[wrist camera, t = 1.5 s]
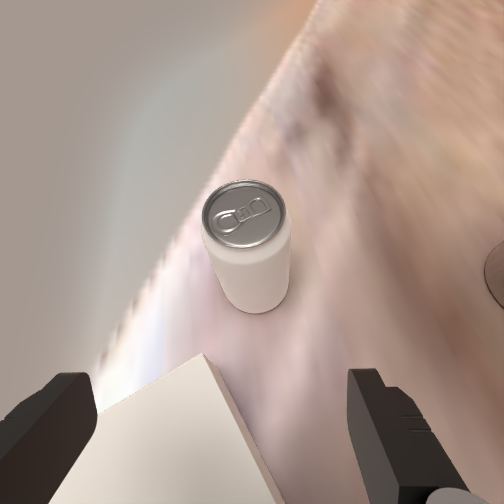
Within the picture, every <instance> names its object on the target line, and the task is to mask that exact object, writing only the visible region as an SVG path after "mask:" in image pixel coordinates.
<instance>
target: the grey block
mask: <svg viewBox="0 0 504 504" xmlns="http://www.w3.org/2000/svg"><path fill="white" fill-rule="evenodd" d="M48 504H285V502H284V500H283V498H282V496H281V494H280V492H279V490H278V488H277V486H276V484H275V482H274V480H273V478H272V476H271V474H270V472H269V470H268V468H267V466H266V464H265V462H264V460H263V458H262V456H261V454H260V452H259V450H258V448H257V446H256V444H255V442H254V440H253V438H252V436H251V434H250V432H249V430H248V428H247V426H246V424H245V422H244V420H243V418H242V416H241V414H240V412H239V410H238V408H237V406H236V404H235V402H234V400H233V398H232V396H231V394H230V392H229V390H228V388H227V386H226V384H225V382H224V380H223V378H222V376H221V374H220V373H219V371H218V369H217V367H216V366H215V365H214V364H213V363H212V362H211V361H210V360H209V359H208V358H207V357H206V356H205V355H204V354H203V353H200V354H199V355H197V356H195V357H194V358H192V359H190V360H189V361H187V362H185V363H184V364H182V365H180V366H179V367H177V368H175V369H174V370H172V371H170V372H169V373H167V374H165V375H164V376H162V377H160V378H159V379H157V380H155V381H154V382H152V383H150V384H149V385H147V386H145V387H144V388H142V389H140V390H139V391H137V392H135V393H134V394H132V395H130V396H129V397H127V398H125V399H124V400H122V401H120V402H119V403H117V404H115V405H114V406H112V407H110V408H109V409H107V410H105V411H104V412H102V413H100V414H99V415H97V425H96V429H95V431H94V434H93V436H92V437H91V439H90V440H89V442H88V444H87V445H86V447H85V448H84V450H83V451H82V453H81V454H80V456H79V457H78V459H77V460H76V462H75V464H74V465H73V467H72V468H71V470H70V471H69V473H68V474H67V476H66V477H65V479H64V480H63V482H62V483H61V485H60V487H59V488H58V490H57V491H56V493H55V494H54V496H53V497H52V499H51V500H50V502H49V503H48Z"/></svg>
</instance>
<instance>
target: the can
mask: <svg viewBox="0 0 504 504" xmlns="http://www.w3.org/2000/svg"><path fill="white" fill-rule="evenodd" d="M201 233H202V238H203V242H204V245H205V247H206V250H207V252H208V255H209V257H210V260H211V262H212V265H213V267H214V270H215V272H216V274H217V277H218V279H219V282H220V284H221V286H222V289H223V291H224V293H225V295H226V297H227V298H228V300H229V301H230V302H231V303H232V304H233V305H234V306H235V307H236V308H237V309H239V310H241V311H244V312H247V313H263V312H267V311H269V310H271V309H273V308H275V307H276V306H277V305H279V304H280V303H281V301H282V300H283V299H284V297H285V295H286V293H287V290H288V286H289V272H290V252H291V219H290V215H289V213H288V210H287V209H286V207H285V203H284V201H283V199H282V197H281V195H280V194H279V193H278V192H277V191H276V190H275V189H274V188H273V187H271V186H270V185H268V184H266V183H263V182H260V181H256V180H237V181H233V182H230V183H227V184H225V185H223V186H221V187H219V188H218V189H217V190H215V191H214V192H213V193H212V194H211V195H210V196H209V198H208V199H207V201H206V202H205V204H204V207H203V211H202V226H201Z"/></svg>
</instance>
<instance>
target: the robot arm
mask: <svg viewBox="0 0 504 504" xmlns="http://www.w3.org/2000/svg"><path fill="white" fill-rule="evenodd" d="M485 277H486V281H487V284H488V286H489V289H490V291H491V292H492V294H493V295H494V297H495V298H496V300H497V301H498V302H499V303H500V304H501V305H502V306H503V307H504V241H503V242H502V243H501V244H499V245H498V246H497V247H496V248H495V249H494V250H493V251H492V252H491V253H490V254H489V256H488V258H487V260H486V264H485ZM347 423H348V429H349V434H350V438H351V441H352V444H353V448H354V451H355V454H356V458H357V461H358V464H359V467H360V471H361V474H362V477H363V481H364V484H365V487H366V491H367V494H368V497H369V500H370V504H489V503H488V502H486V501H485V500H483V499H482V498H480V497H478V496H476V495H474V494H472V493H471V492H470V491H469V489H468V488H467V486H466V485H465V483H464V481H463V480H462V478H461V476H460V475H459V473H458V472H457V470H456V468H455V467H454V465H453V464H452V462H451V460H450V459H449V457H448V456H447V454H446V452H445V451H444V449H443V447H442V446H441V444H440V443H439V441H438V439H437V438H436V436H435V435H434V433H432V432H431V428H430V427H429V425H428V423H427V422H426V420H425V419H423V415H422V414H421V412H420V410H419V409H418V407H417V406H416V404H415V402H414V401H413V399H411V398H410V397H409V396H408V395H407V394H405V393H404V392H403V391H402V390H401V389H399V388H398V387H386V386H385V384H384V382H383V381H382V379H381V377H380V375H379V373H378V371H377V370H376V369H349V371H348V385H347ZM96 425H97V409H96V405H95V400H94V395H93V391H92V386H91V382H90V378H89V375H88V374H87V373H85V372H82V373H81V372H78V373H59V374H57V375H56V376H55V377H54V378H53V379H52V380H51V381H50V382H49V383H48V384H47V385H46V386H45V387H44V388H43V389H42V390H39V391H38V392H36V393H35V394H33V395H31V396H30V397H28V398H27V399H25V400H24V401H22V402H20V403H19V404H18V405H17V406H16V407H15V408H14V409H13V410H12V411H11V412H10V413H9V414H8V415H7V416H6V417H5V419H4V420H2V421H0V504H48V503H49V502H50V500H51V499H52V497H53V496H54V494H55V493H56V491H57V490H58V488H59V487H60V485H61V483H62V482H63V480H64V479H65V477H66V476H67V474H68V473H69V471H70V470H71V468H72V467H73V465H74V464H75V462H76V460H77V459H78V457H79V456H80V454H81V453H82V451H83V450H84V448H85V447H86V445H87V444H88V442H89V440H90V439H91V437H92V436H93V434H94V431H95V429H96Z"/></svg>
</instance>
